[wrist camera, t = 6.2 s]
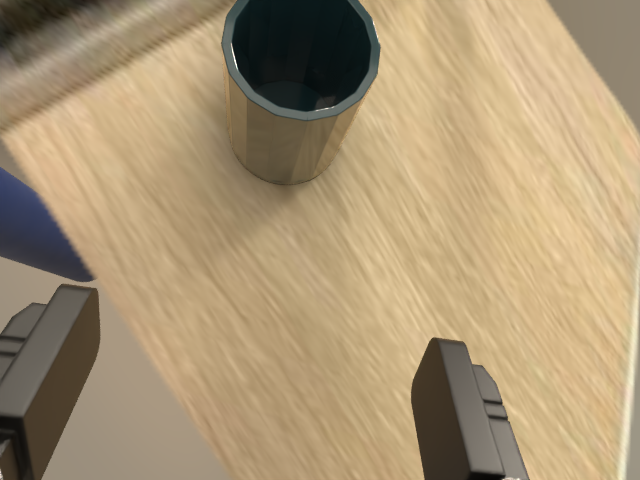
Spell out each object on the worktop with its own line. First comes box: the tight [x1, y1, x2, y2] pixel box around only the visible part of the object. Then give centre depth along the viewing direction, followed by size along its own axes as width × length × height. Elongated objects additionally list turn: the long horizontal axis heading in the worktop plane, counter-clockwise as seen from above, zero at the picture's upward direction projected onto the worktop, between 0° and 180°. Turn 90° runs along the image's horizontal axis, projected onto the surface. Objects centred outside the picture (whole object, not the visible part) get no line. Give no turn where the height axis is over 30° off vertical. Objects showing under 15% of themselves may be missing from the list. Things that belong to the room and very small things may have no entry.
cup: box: [221, 0, 381, 185], centre depth 26 cm, size 6×6×10 cm
